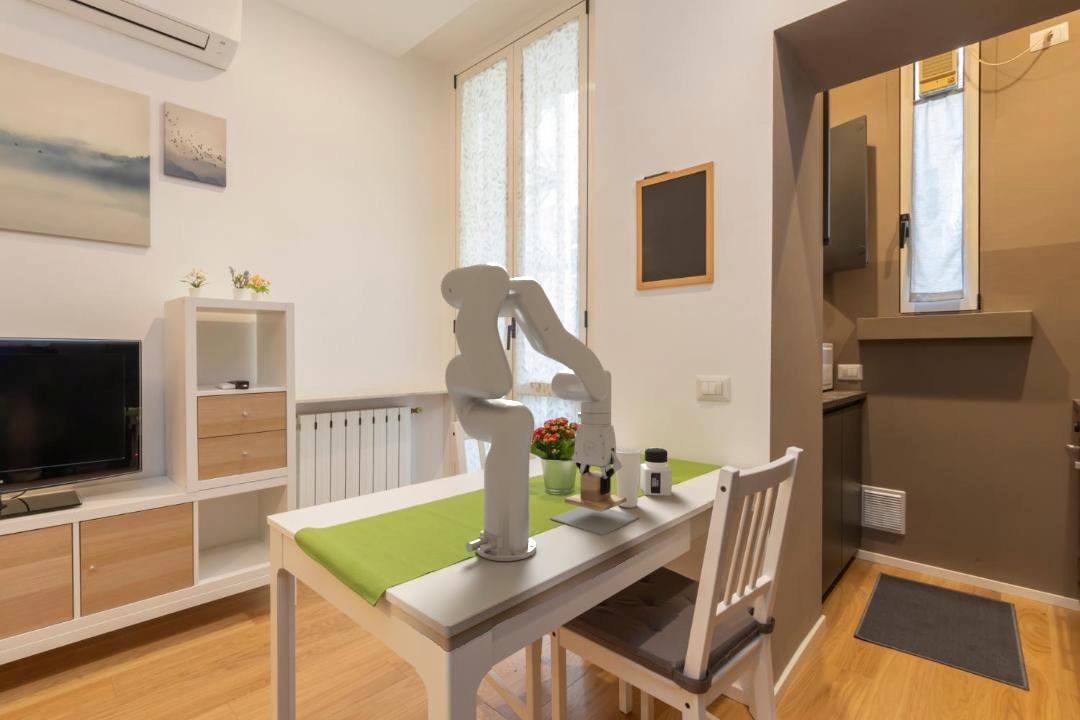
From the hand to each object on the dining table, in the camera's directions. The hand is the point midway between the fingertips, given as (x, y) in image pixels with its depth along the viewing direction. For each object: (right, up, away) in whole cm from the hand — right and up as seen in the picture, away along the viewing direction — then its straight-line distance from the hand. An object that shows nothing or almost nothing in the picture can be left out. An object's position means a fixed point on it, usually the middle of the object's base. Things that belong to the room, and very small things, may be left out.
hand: (595, 490), depth 129 cm
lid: (0, -3, 0) cm, 3 cm away
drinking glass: (+10, -7, +11) cm, 17 cm away
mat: (0, -7, 0) cm, 7 cm away
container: (+21, -7, +25) cm, 33 cm away
